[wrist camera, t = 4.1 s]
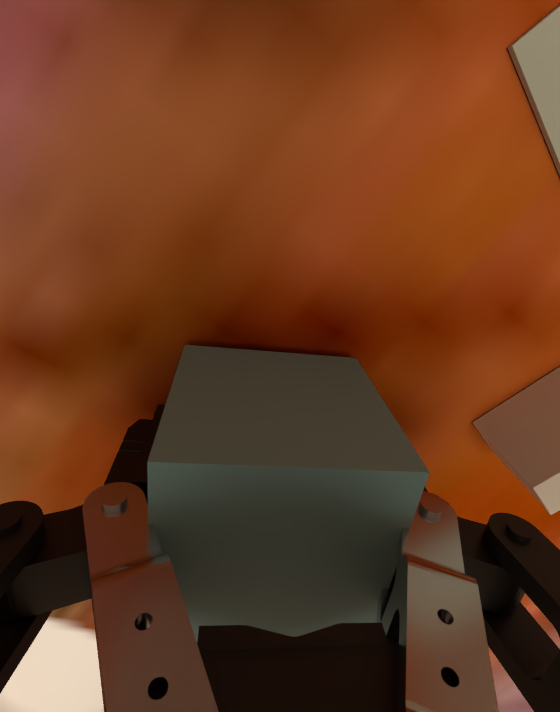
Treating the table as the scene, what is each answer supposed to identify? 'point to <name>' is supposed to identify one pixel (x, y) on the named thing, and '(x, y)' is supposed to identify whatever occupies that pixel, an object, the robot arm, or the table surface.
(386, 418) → the teal block
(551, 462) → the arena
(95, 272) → the table surface
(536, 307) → the table surface
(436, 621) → the robot arm
